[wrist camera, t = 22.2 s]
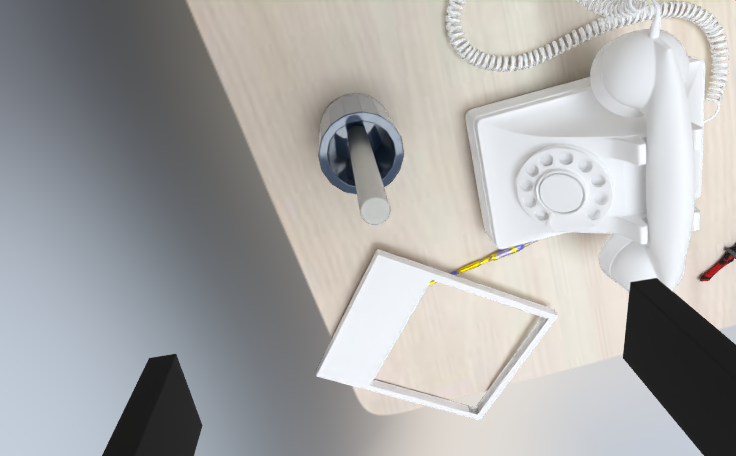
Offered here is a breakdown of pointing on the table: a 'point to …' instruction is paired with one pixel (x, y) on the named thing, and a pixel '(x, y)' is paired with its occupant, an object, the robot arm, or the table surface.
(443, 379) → the table surface
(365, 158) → the stylus
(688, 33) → the table surface
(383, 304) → the photo frame
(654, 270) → the telephone
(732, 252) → the katana
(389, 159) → the holder
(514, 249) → the pen
